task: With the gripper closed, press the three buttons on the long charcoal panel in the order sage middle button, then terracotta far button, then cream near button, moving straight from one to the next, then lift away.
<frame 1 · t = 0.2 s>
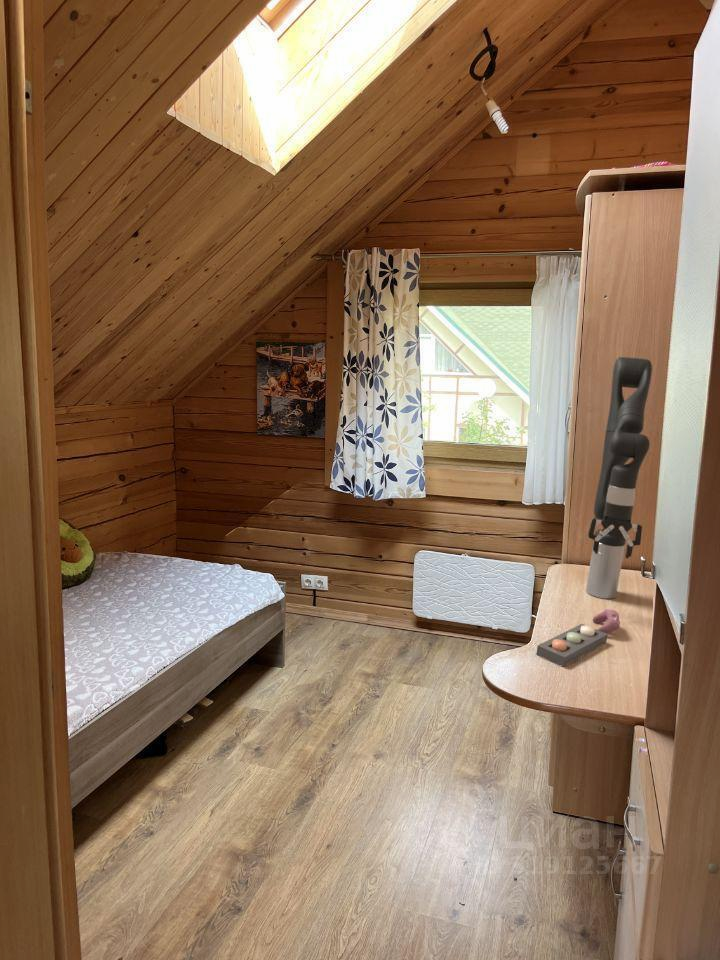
hand: (611, 555, 200), 17 cm above the table, tool pointing down, fingers open, 8 cm apart
sage button: (573, 639, 177), point 2 cm above the table, slide at 0.0 cm
video game controller: (604, 630, 191), on the table
cream button: (587, 632, 182), point 2 cm above the table, slide at 0.0 cm
button panel: (572, 648, 178), on the table
terracotta button: (559, 646, 173), point 2 cm above the table, slide at 0.0 cm
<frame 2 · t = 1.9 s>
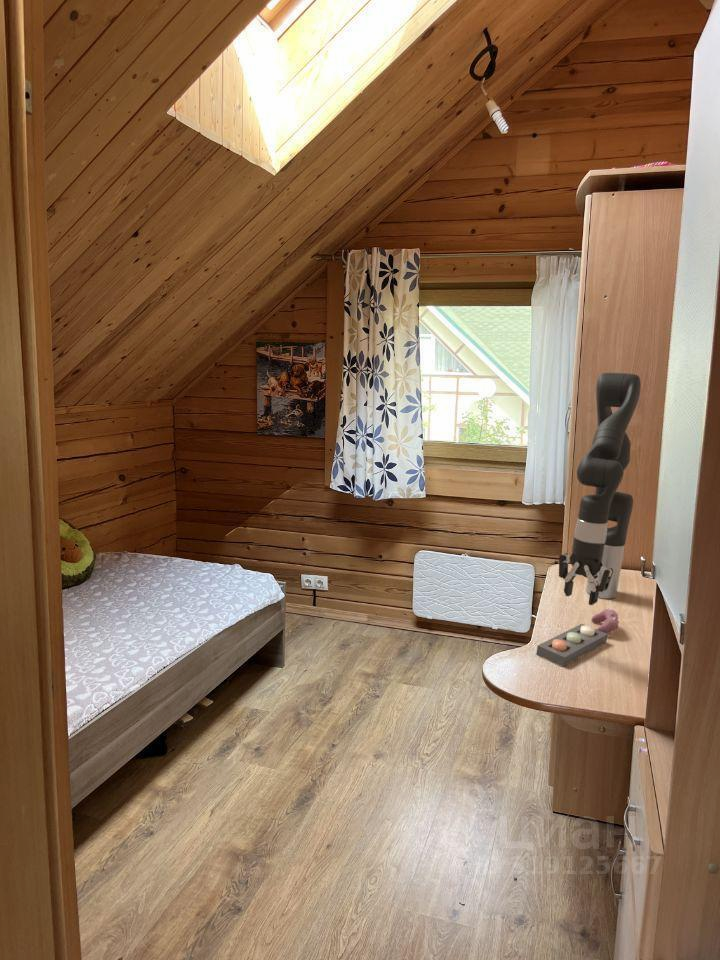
hand: (579, 599, 175), 14 cm above the table, tool pointing down, fingers open, 6 cm apart
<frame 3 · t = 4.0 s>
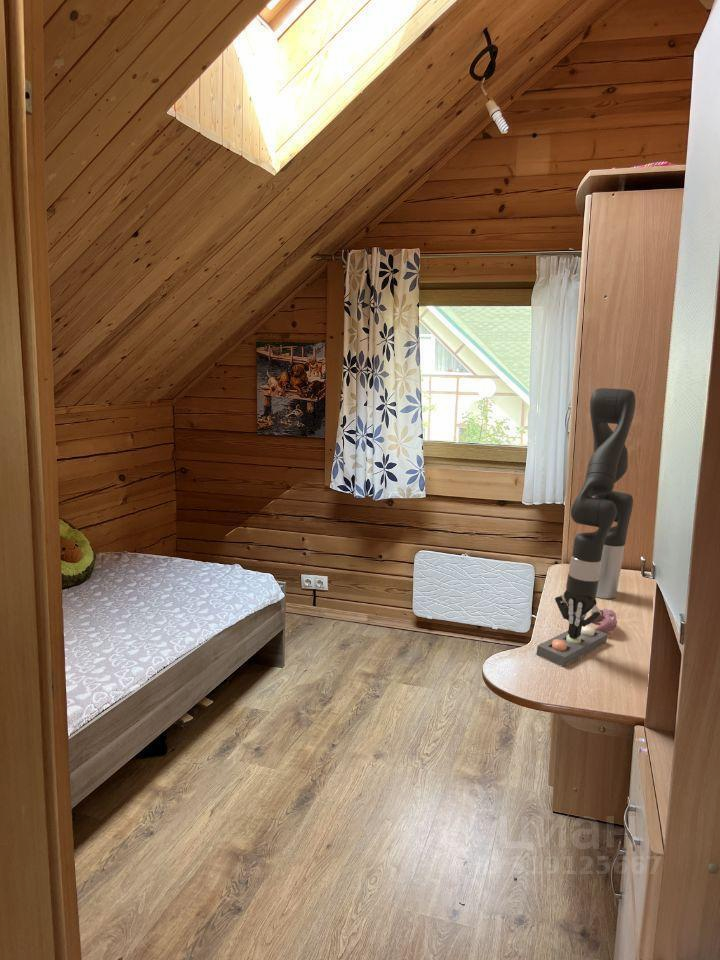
hand: (573, 637, 177), 3 cm above the table, tool pointing down, fingers closed
sage button: (573, 641, 177), point 2 cm above the table, slide at 0.6 cm, touching gripper
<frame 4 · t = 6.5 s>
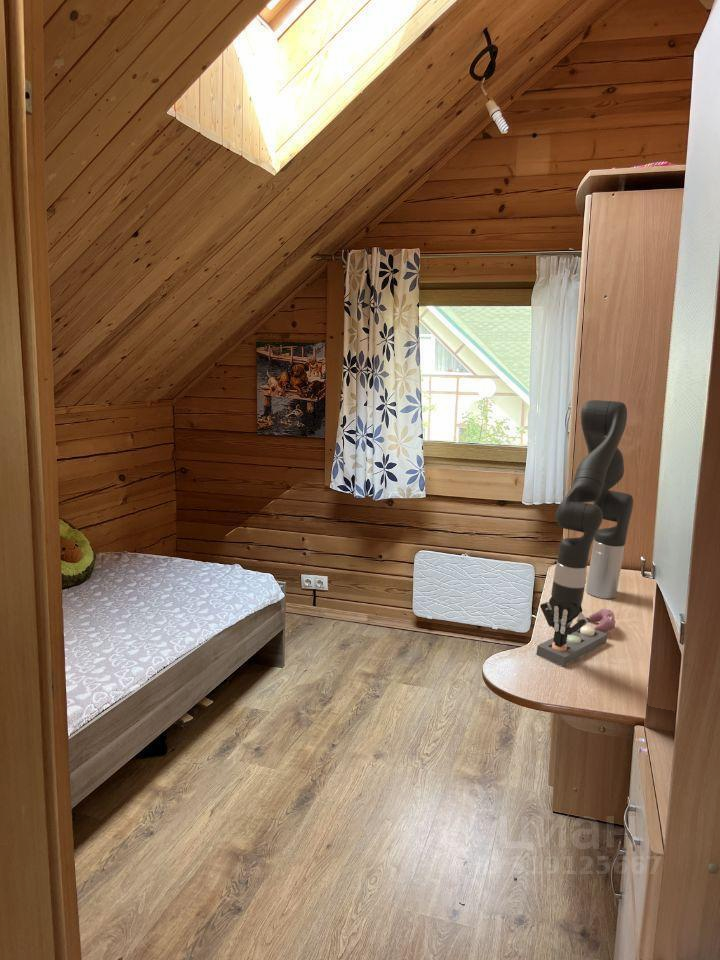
hand: (559, 645, 172), 3 cm above the table, tool pointing down, fingers closed
sage button: (573, 642, 177), point 2 cm above the table, slide at 0.8 cm
terracotta button: (558, 649, 173), point 2 cm above the table, slide at 0.7 cm, touching gripper
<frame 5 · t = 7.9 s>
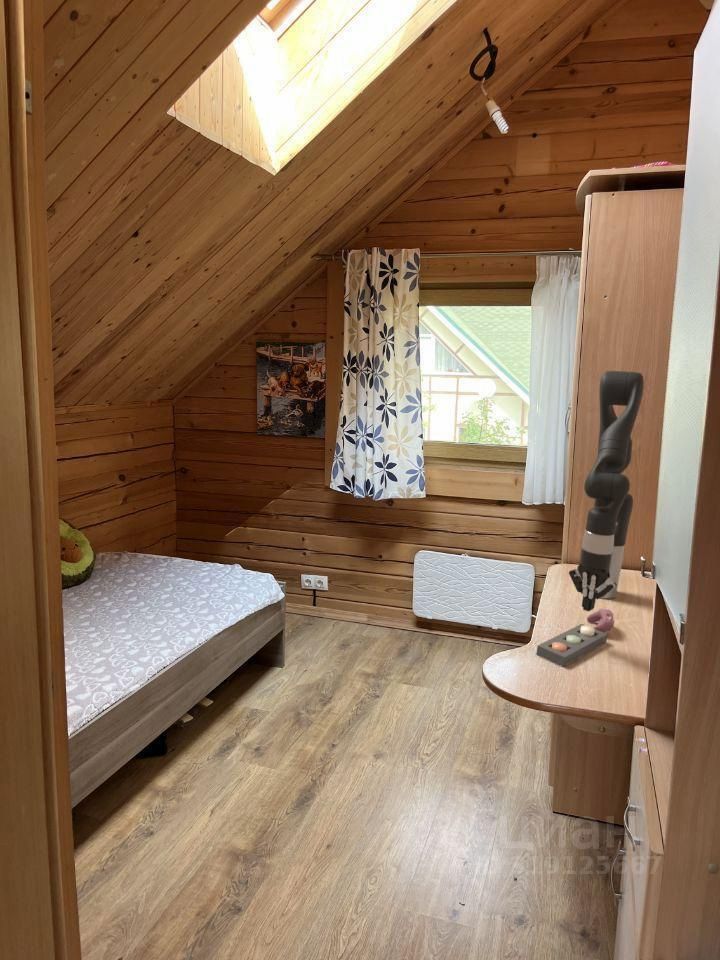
hand: (587, 609, 180), 9 cm above the table, tool pointing down, fingers closed
terracotta button: (558, 649, 173), point 2 cm above the table, slide at 0.8 cm
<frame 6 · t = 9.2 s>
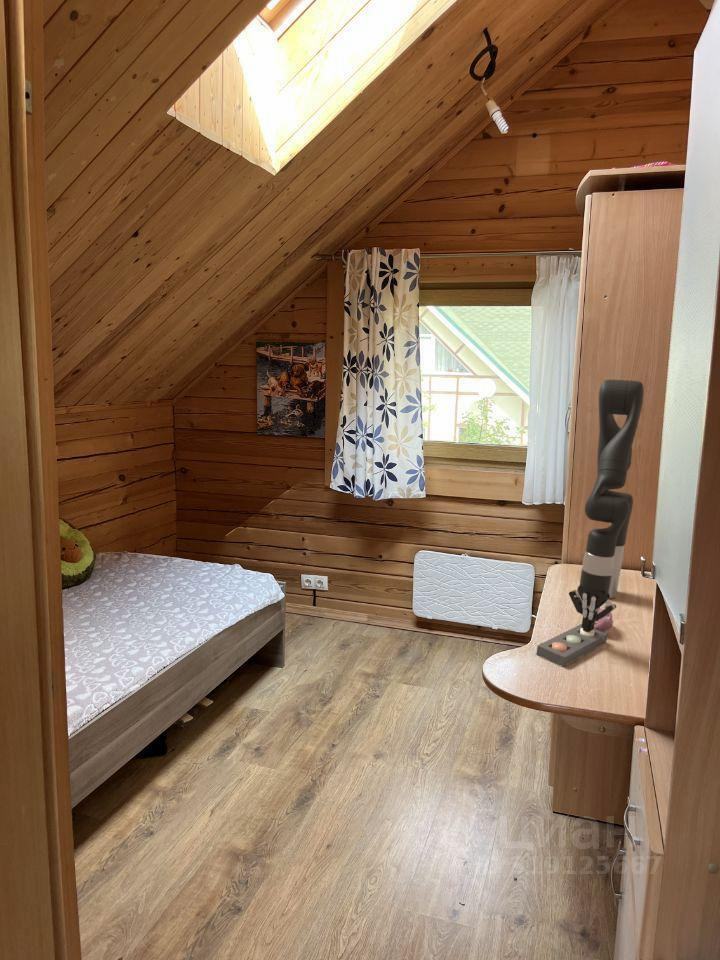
hand: (587, 630, 182), 3 cm above the table, tool pointing down, fingers closed
cream button: (586, 634, 182), point 2 cm above the table, slide at 0.6 cm, touching gripper
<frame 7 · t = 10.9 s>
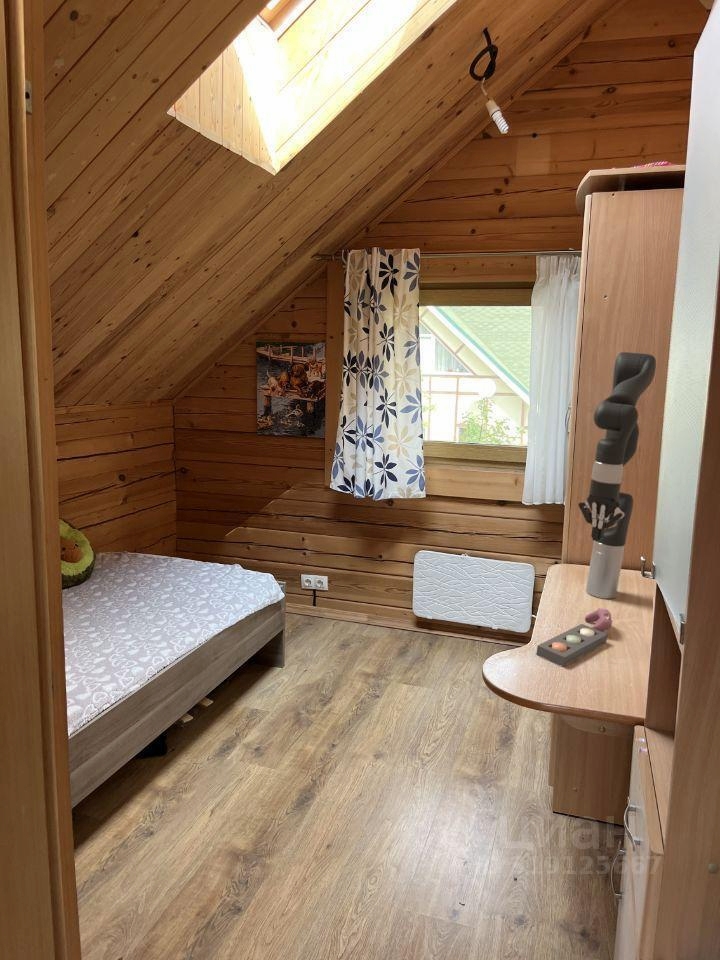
hand: (596, 540, 185), 26 cm above the table, tool pointing down, fingers closed
cream button: (586, 635, 182), point 2 cm above the table, slide at 0.8 cm
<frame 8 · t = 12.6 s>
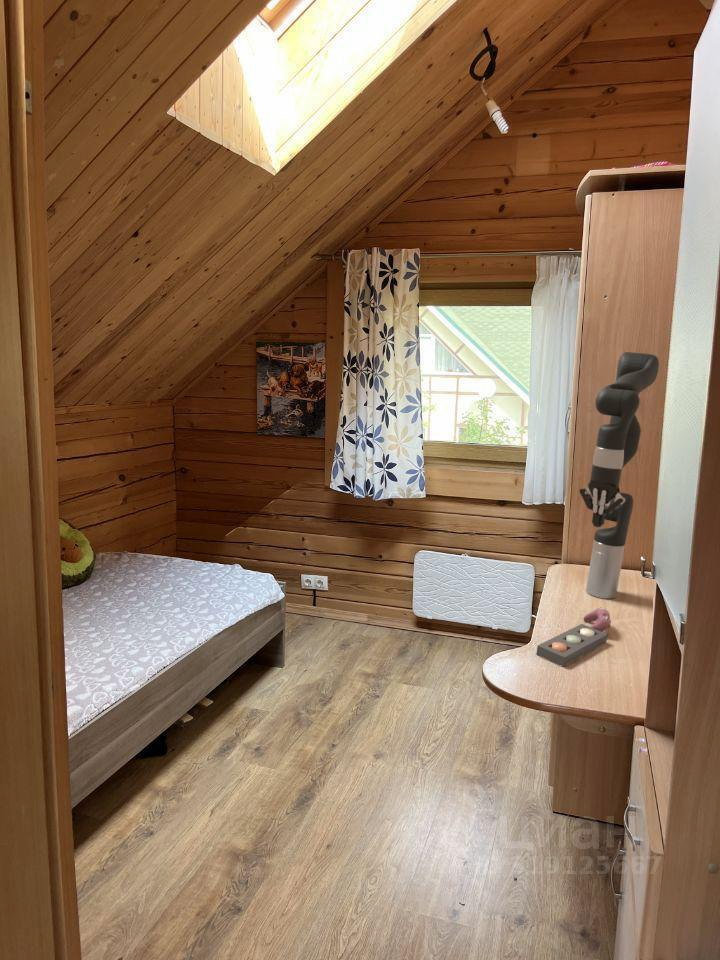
hand: (597, 526, 186), 29 cm above the table, tool pointing down, fingers closed
at the end: sage button slide at 0.8 cm; terracotta button slide at 0.8 cm; cream button slide at 0.8 cm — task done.
